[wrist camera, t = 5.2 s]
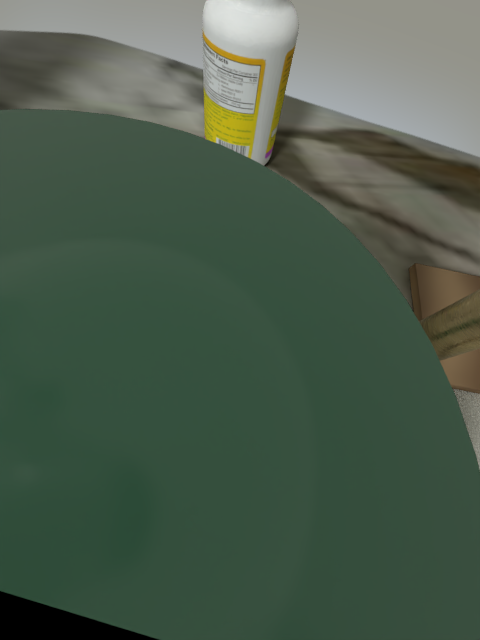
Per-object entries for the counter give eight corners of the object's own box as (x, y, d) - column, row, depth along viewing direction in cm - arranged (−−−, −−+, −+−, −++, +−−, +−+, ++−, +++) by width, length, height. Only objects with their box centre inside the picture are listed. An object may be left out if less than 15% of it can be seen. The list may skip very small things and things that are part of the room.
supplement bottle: (250, 126, 28) (280, -90, 17) (282, 166, 27) (341, -45, 15) (193, 139, 27) (181, -93, 15) (222, 183, 25) (236, -43, 13)
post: (354, 382, 18) (530, 323, 8) (354, 330, 20) (501, 228, 10) (409, 393, 19) (646, 347, 9) (404, 340, 20) (599, 249, 10)
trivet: (421, 382, 19) (430, 380, 18) (408, 268, 23) (415, 263, 22) (551, 407, 19) (565, 406, 19) (516, 291, 23) (526, 286, 23)
